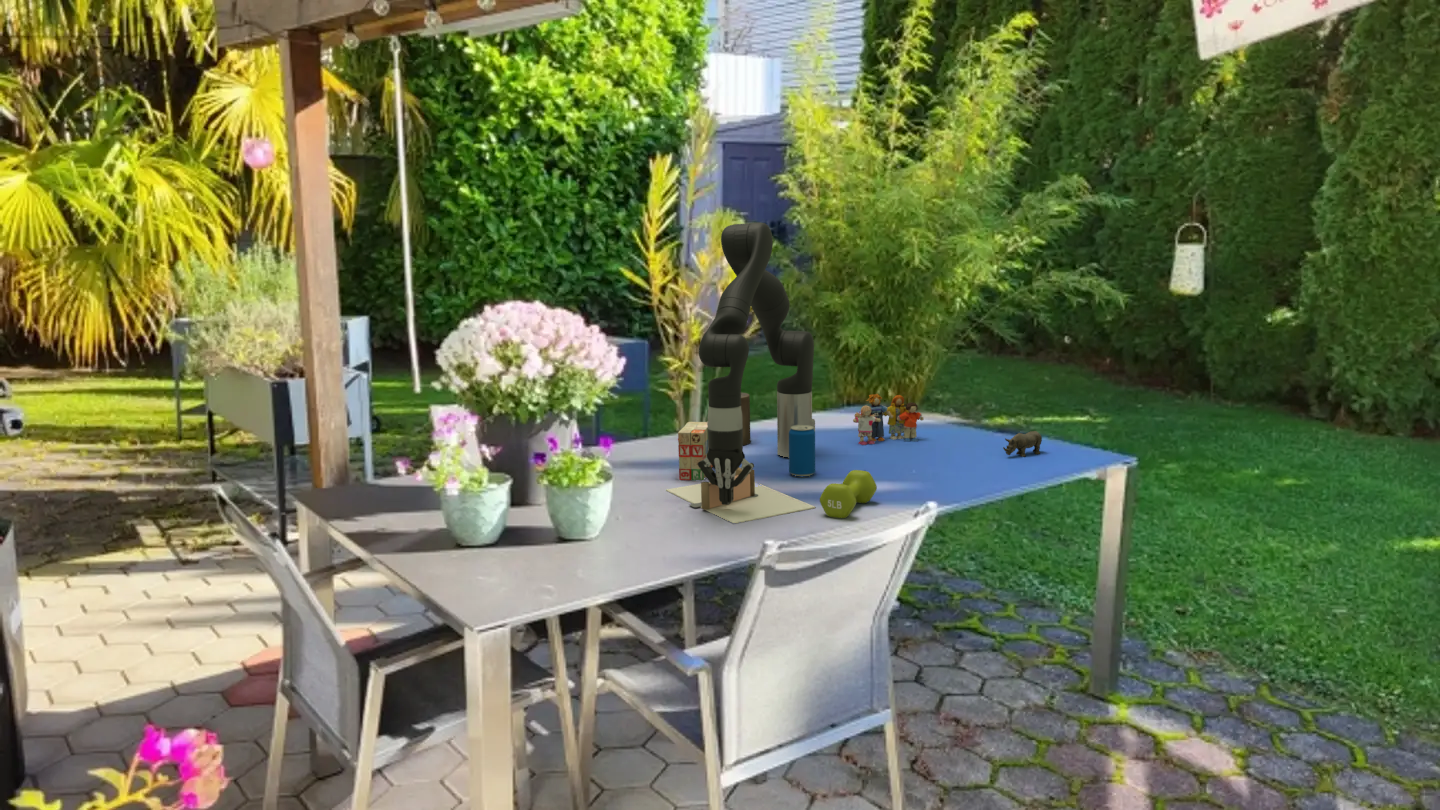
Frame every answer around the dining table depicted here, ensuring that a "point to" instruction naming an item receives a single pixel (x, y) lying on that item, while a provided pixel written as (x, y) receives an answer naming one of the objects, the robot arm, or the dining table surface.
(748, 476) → the gate
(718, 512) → the card
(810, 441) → the beverage can
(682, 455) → the stack of blocks
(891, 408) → the doll family
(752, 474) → the wooden fence panel
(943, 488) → the dining table surface
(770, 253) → the robot arm
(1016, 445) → the rhino figurine
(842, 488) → the dumbbell
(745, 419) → the pillar candle
